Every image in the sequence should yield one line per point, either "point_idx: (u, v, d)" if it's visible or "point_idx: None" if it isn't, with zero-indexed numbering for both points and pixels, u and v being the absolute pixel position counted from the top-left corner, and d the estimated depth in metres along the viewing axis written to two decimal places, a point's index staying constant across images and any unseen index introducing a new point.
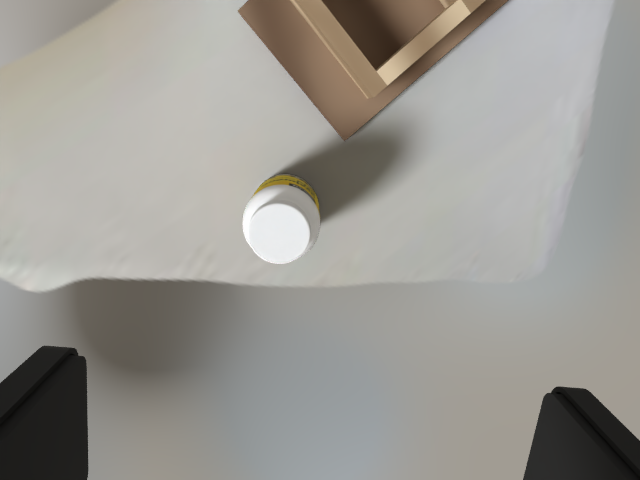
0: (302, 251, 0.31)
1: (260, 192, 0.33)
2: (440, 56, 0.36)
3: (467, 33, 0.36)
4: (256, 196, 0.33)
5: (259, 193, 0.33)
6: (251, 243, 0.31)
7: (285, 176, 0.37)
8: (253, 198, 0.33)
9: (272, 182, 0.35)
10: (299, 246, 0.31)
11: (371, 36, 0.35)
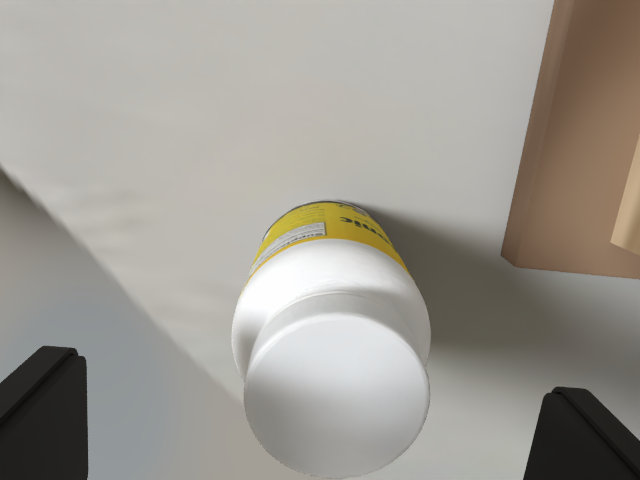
0: (345, 476, 0.11)
1: (359, 250, 0.12)
2: None
3: None
4: (345, 251, 0.12)
5: (356, 251, 0.12)
6: (258, 365, 0.10)
7: (383, 232, 0.17)
8: (335, 248, 0.12)
9: (376, 236, 0.15)
10: (350, 461, 0.11)
11: None
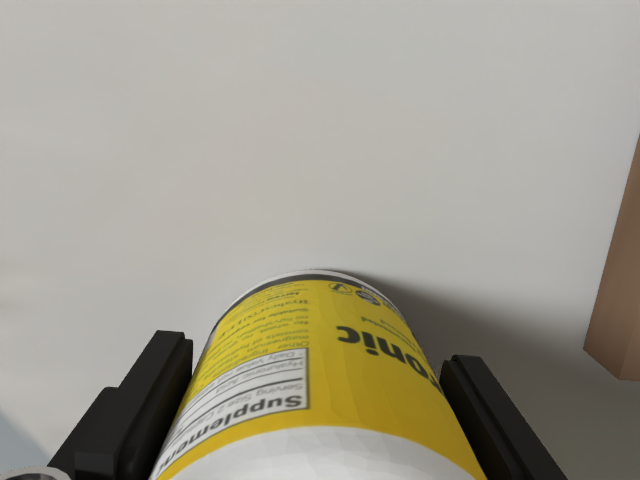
0: None
1: (386, 471, 0.05)
2: None
3: None
4: None
5: (379, 475, 0.05)
6: None
7: (408, 333, 0.10)
8: (328, 470, 0.05)
9: (407, 377, 0.07)
10: None
11: None
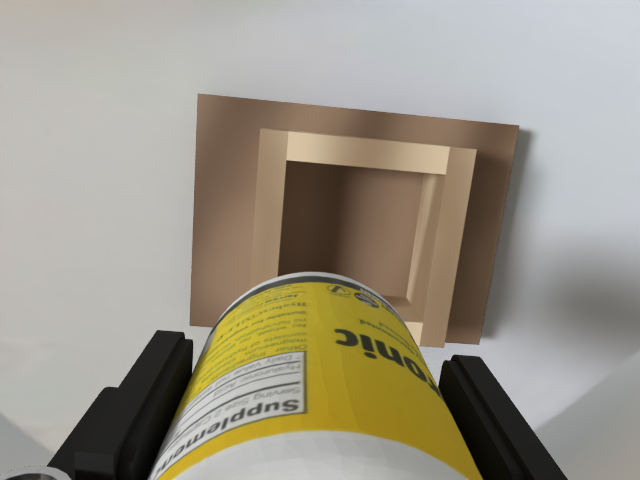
0: None
1: (383, 476, 0.05)
2: None
3: None
4: None
5: None
6: None
7: (407, 335, 0.10)
8: (325, 475, 0.05)
9: (405, 381, 0.07)
10: None
11: (313, 254, 0.26)
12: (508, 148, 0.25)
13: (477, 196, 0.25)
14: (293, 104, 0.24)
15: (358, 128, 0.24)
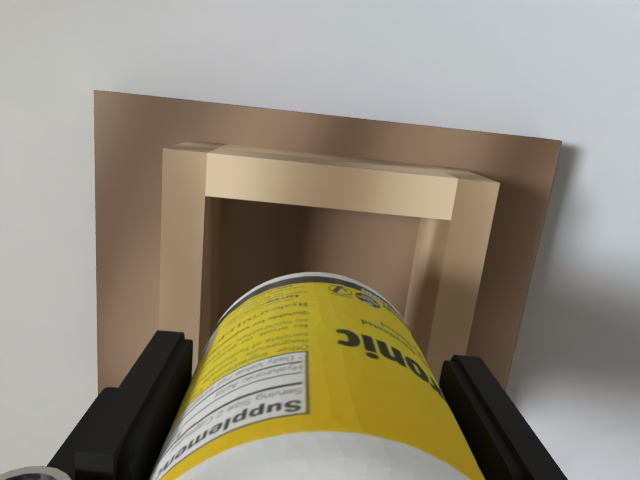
0: None
1: (386, 477, 0.05)
2: None
3: None
4: None
5: None
6: None
7: (408, 335, 0.10)
8: (328, 476, 0.05)
9: (407, 381, 0.07)
10: None
11: None
12: (544, 173, 0.17)
13: (497, 240, 0.18)
14: (233, 107, 0.16)
15: (328, 141, 0.17)
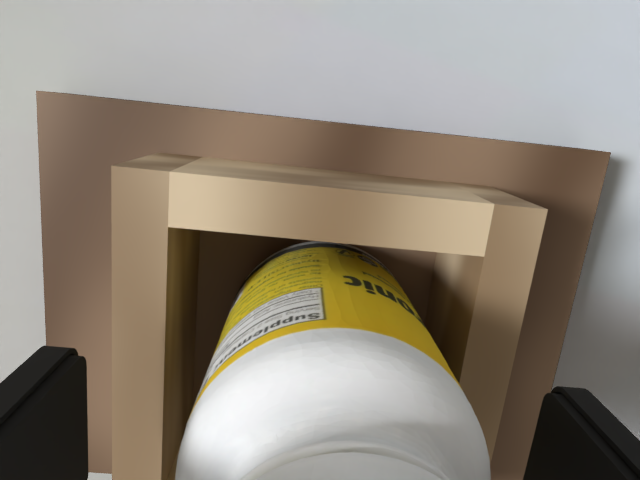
0: None
1: (380, 352, 0.08)
2: None
3: None
4: (358, 355, 0.07)
5: (375, 354, 0.07)
6: None
7: (400, 288, 0.13)
8: (340, 350, 0.07)
9: (397, 309, 0.10)
10: None
11: None
12: (589, 191, 0.14)
13: None
14: (209, 111, 0.13)
15: (326, 154, 0.14)
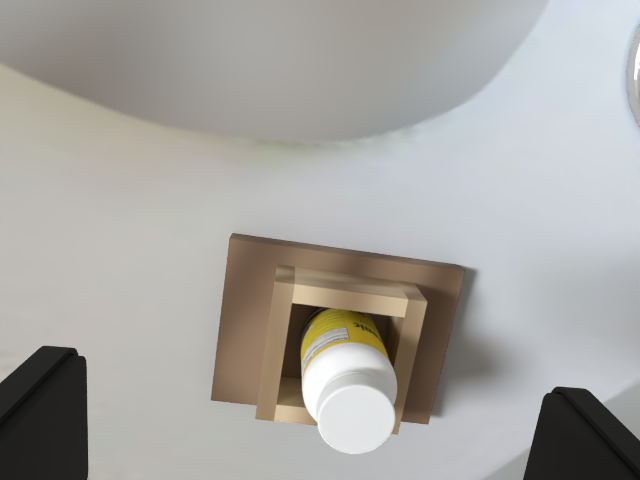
0: (358, 452, 0.25)
1: (366, 350, 0.27)
2: None
3: None
4: (359, 350, 0.26)
5: (364, 350, 0.26)
6: (325, 405, 0.24)
7: (374, 326, 0.32)
8: (355, 349, 0.26)
9: (372, 336, 0.29)
10: (360, 446, 0.25)
11: None
12: (456, 286, 0.33)
13: (431, 319, 0.34)
14: (299, 249, 0.32)
15: (346, 267, 0.33)
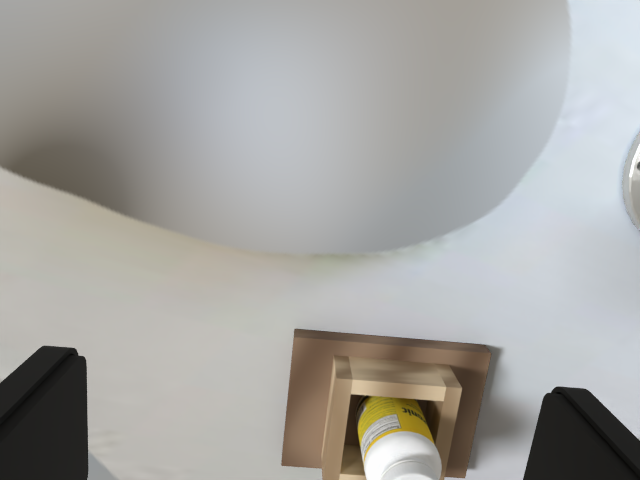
0: None
1: (415, 438, 0.33)
2: None
3: None
4: (410, 439, 0.33)
5: (414, 439, 0.33)
6: None
7: (417, 405, 0.38)
8: (406, 438, 0.33)
9: (418, 420, 0.35)
10: None
11: None
12: (484, 366, 0.40)
13: (464, 392, 0.40)
14: (351, 342, 0.39)
15: (391, 355, 0.39)
